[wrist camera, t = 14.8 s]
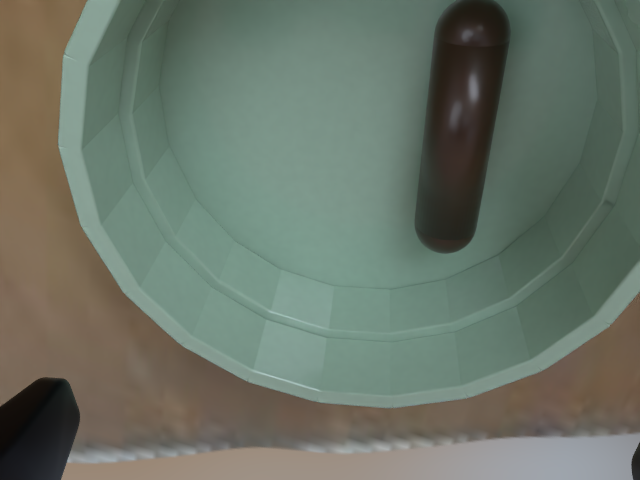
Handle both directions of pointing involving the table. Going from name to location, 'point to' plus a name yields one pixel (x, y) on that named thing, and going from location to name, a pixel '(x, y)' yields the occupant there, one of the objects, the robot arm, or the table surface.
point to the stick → (460, 121)
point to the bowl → (353, 189)
